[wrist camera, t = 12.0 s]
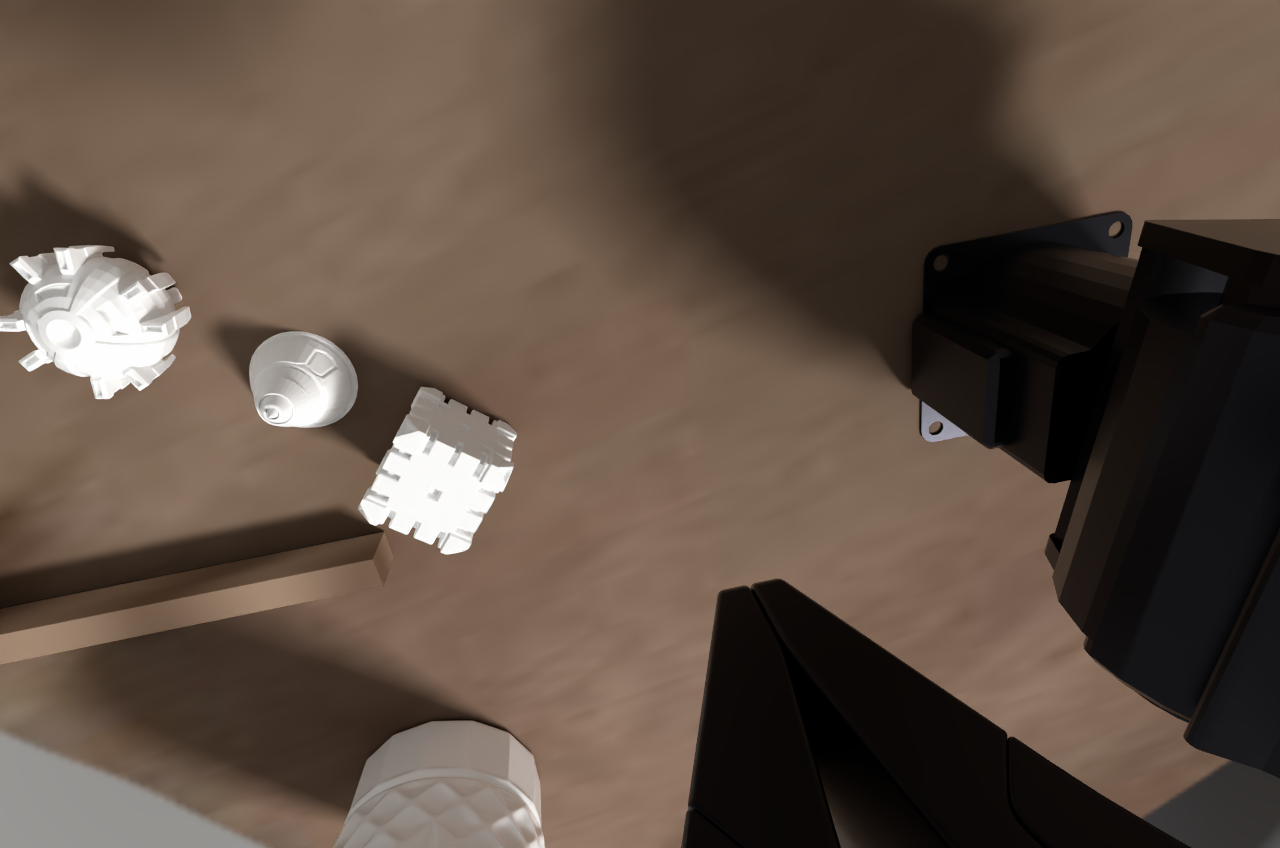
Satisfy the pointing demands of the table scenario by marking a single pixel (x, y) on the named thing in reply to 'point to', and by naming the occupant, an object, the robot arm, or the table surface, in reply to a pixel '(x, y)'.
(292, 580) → the rail corral
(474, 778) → the white cup
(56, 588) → the table surface
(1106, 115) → the table surface
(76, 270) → the game pieces
